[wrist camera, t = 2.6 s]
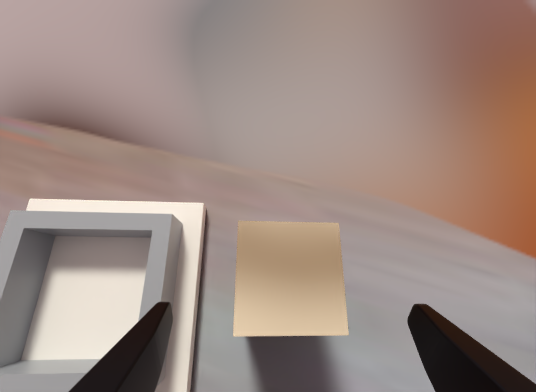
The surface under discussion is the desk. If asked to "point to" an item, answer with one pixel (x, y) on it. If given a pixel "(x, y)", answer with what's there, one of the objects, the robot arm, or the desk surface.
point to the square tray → (95, 287)
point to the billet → (289, 280)
